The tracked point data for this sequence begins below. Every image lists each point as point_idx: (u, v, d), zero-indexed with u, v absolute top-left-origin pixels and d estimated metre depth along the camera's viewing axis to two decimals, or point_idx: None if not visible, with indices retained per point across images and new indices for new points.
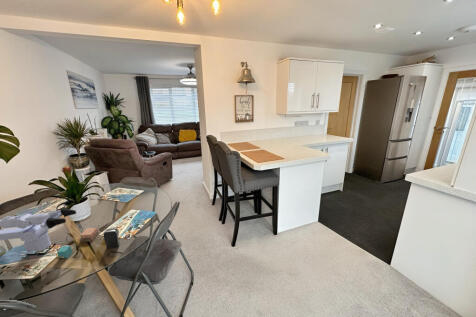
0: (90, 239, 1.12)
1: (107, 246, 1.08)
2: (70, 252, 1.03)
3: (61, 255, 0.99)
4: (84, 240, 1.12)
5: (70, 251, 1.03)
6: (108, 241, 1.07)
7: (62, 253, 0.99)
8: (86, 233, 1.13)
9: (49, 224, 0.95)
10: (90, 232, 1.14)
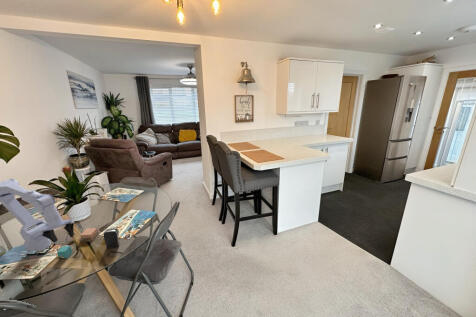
0: (90, 239, 1.12)
1: (107, 246, 1.08)
2: (70, 252, 1.03)
3: (61, 255, 0.99)
4: (84, 240, 1.12)
5: (70, 251, 1.03)
6: (108, 241, 1.07)
7: (62, 253, 0.99)
8: (86, 233, 1.13)
9: None
10: (90, 232, 1.14)
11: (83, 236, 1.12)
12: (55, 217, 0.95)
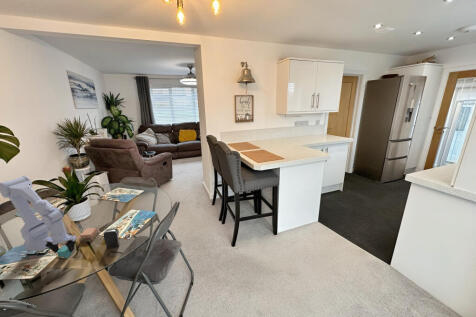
0: (90, 239, 1.12)
1: (107, 246, 1.08)
2: (70, 252, 1.03)
3: (61, 255, 0.99)
4: (84, 240, 1.12)
5: None
6: (108, 241, 1.07)
7: (62, 253, 0.99)
8: (86, 233, 1.13)
9: None
10: (90, 232, 1.14)
11: (83, 236, 1.12)
12: (59, 233, 0.95)
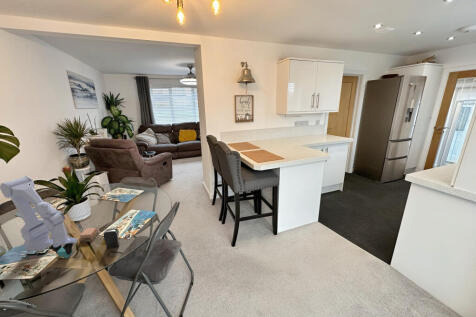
0: (90, 239, 1.12)
1: (107, 246, 1.08)
2: None
3: (61, 255, 0.99)
4: (84, 240, 1.12)
5: None
6: (108, 241, 1.07)
7: (62, 253, 0.99)
8: (86, 233, 1.13)
9: None
10: (90, 232, 1.14)
11: (83, 236, 1.12)
12: (60, 236, 0.96)
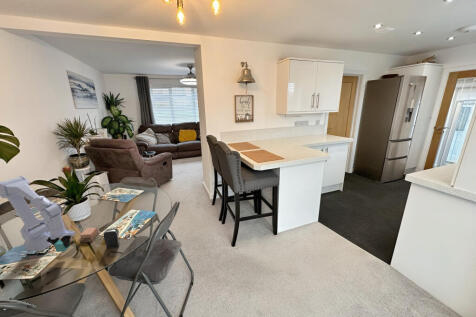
0: (90, 239, 1.12)
1: (107, 246, 1.08)
2: None
3: (58, 248, 0.98)
4: (84, 240, 1.12)
5: None
6: (108, 241, 1.07)
7: (60, 246, 0.98)
8: (86, 233, 1.13)
9: None
10: (90, 232, 1.14)
11: (83, 236, 1.12)
12: (58, 228, 0.94)
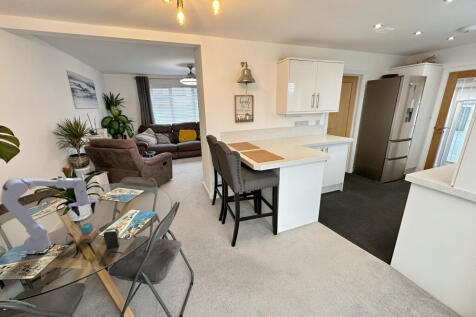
0: (89, 240, 1.12)
1: (107, 246, 1.08)
2: (91, 229, 1.14)
3: (84, 231, 1.11)
4: (83, 241, 1.11)
5: (91, 228, 1.14)
6: (108, 241, 1.07)
7: (85, 229, 1.11)
8: (86, 234, 1.12)
9: None
10: None
11: (82, 237, 1.11)
12: (85, 196, 1.16)
